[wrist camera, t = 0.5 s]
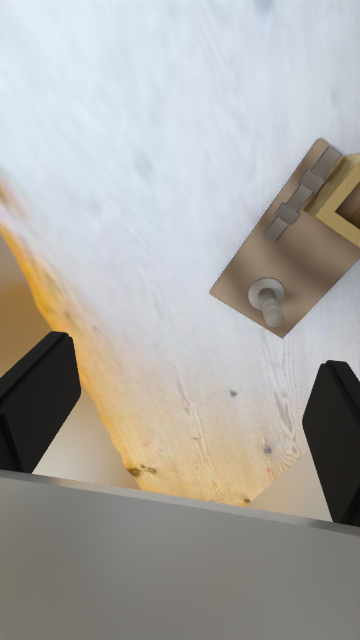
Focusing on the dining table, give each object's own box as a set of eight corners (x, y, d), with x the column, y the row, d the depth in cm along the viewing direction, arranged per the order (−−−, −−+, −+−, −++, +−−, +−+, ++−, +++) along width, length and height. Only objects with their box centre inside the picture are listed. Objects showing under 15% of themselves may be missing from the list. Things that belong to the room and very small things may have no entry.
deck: (316, 139, 29) (347, 128, 22) (403, 204, 31) (458, 214, 24) (209, 290, 38) (206, 318, 31) (280, 334, 40) (293, 370, 33)
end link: (343, 155, 28) (365, 152, 24) (388, 189, 29) (417, 192, 25) (301, 209, 31) (314, 216, 27) (343, 239, 32) (363, 250, 28)
